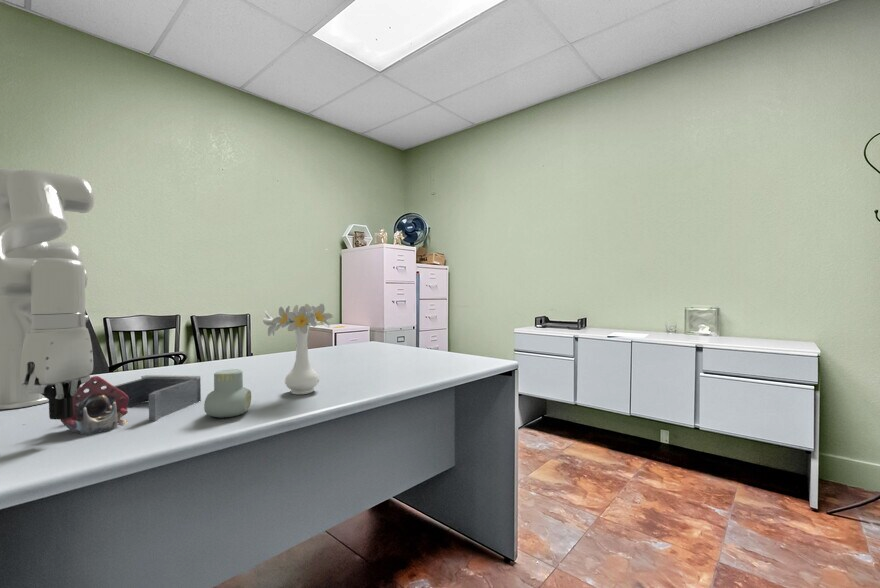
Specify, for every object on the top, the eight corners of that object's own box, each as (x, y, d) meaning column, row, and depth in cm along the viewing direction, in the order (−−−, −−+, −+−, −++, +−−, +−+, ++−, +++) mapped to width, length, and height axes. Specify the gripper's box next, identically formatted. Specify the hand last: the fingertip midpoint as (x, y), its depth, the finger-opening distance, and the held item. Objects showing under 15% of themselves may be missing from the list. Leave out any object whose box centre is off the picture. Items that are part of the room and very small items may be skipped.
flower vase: (267, 389, 116) (266, 303, 116) (332, 384, 121) (331, 302, 121) (261, 401, 104) (259, 305, 103) (334, 395, 109) (333, 303, 109)
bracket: (82, 420, 90) (81, 390, 90) (142, 399, 106) (142, 375, 106) (153, 421, 88) (153, 391, 88) (204, 401, 104) (203, 375, 104)
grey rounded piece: (216, 409, 98) (215, 368, 97) (253, 406, 100) (252, 366, 100) (201, 423, 87) (200, 377, 87) (243, 420, 89) (242, 375, 89)
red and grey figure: (68, 430, 76) (58, 376, 80) (57, 455, 81) (48, 402, 85) (139, 415, 85) (127, 367, 89) (126, 438, 90) (115, 391, 94)
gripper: (80, 319, 85) (82, 406, 85) (-5, 326, 70) (-3, 431, 70) (112, 319, 84) (114, 407, 84) (33, 326, 69) (35, 432, 69)
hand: (61, 417), depth 77 cm, fingers closed
